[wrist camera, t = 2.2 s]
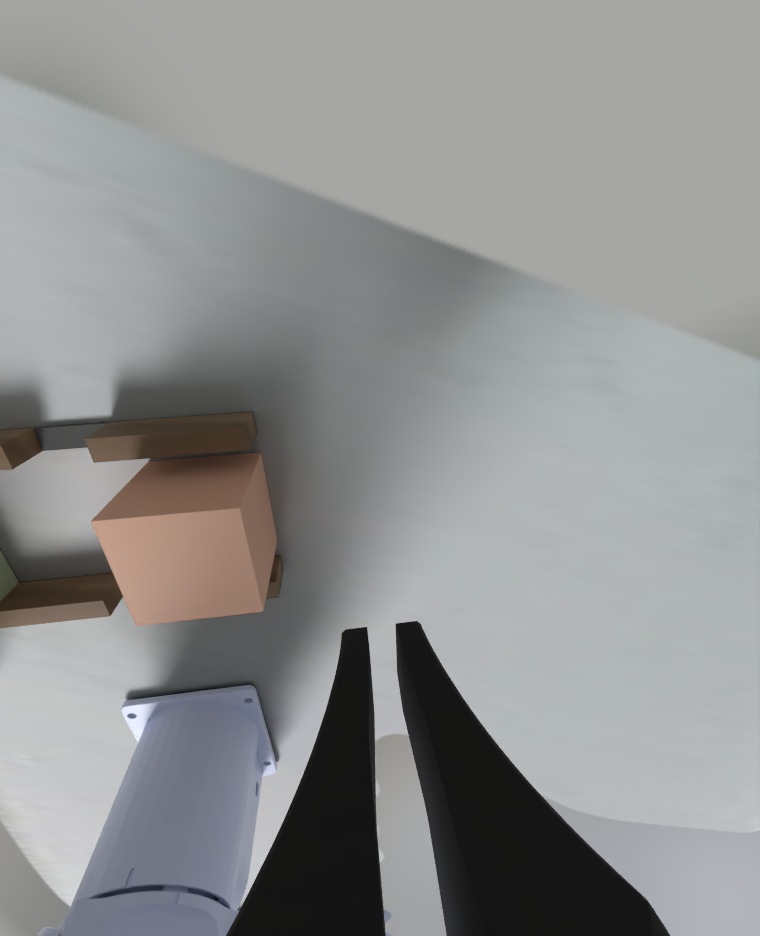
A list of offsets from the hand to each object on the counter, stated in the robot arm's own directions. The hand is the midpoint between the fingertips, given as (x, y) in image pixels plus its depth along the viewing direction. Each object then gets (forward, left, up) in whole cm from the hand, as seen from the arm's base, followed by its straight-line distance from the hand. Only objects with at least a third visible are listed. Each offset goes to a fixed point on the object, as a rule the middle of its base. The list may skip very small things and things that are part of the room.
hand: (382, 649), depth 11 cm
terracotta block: (0, +7, -10) cm, 12 cm away
